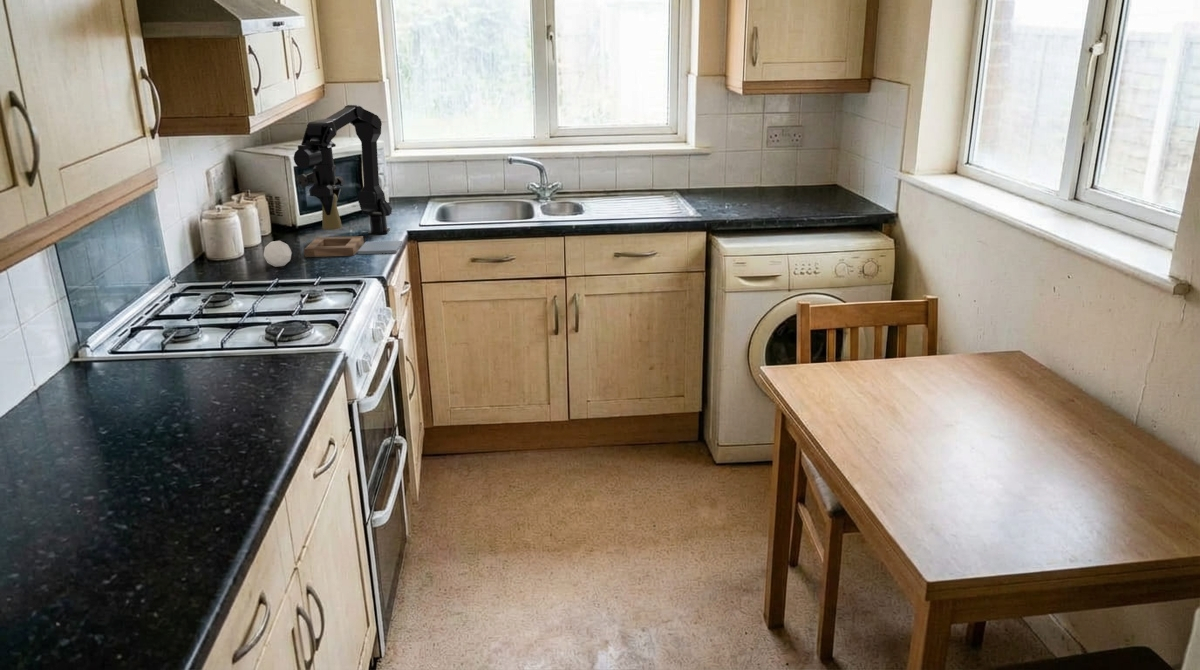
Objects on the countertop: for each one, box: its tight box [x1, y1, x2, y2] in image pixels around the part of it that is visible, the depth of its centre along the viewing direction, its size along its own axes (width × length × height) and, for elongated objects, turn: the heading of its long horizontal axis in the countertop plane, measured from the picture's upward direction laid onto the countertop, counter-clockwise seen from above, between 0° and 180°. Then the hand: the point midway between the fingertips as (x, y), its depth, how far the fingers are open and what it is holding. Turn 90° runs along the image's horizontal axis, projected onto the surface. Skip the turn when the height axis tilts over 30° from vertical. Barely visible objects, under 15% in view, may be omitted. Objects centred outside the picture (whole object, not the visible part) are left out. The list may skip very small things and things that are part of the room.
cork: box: [321, 194, 343, 231], centre depth 268 cm, size 6×6×11 cm
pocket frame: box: [303, 235, 365, 258], centre depth 272 cm, size 15×15×2 cm
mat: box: [357, 240, 404, 255], centre depth 273 cm, size 12×12×1 cm
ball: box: [263, 240, 292, 268], centre depth 255 cm, size 8×8×8 cm
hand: (330, 213), depth 269 cm, fingers closed on cork, 4 cm apart
